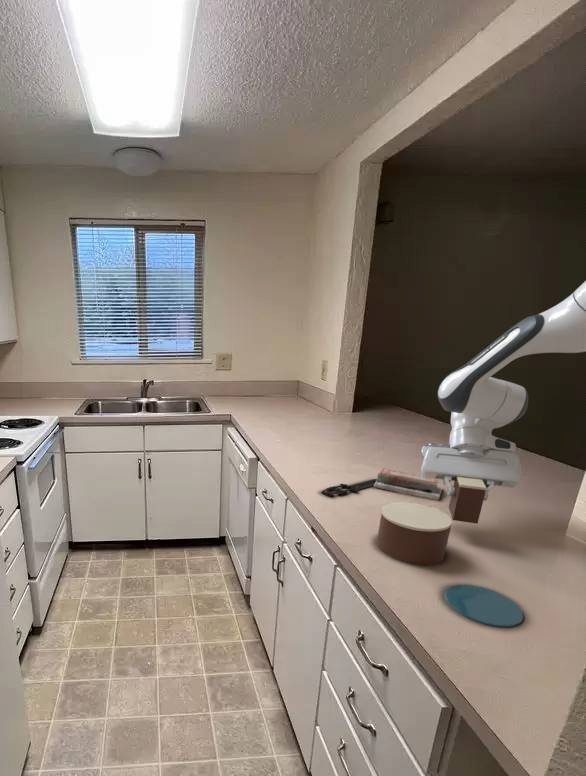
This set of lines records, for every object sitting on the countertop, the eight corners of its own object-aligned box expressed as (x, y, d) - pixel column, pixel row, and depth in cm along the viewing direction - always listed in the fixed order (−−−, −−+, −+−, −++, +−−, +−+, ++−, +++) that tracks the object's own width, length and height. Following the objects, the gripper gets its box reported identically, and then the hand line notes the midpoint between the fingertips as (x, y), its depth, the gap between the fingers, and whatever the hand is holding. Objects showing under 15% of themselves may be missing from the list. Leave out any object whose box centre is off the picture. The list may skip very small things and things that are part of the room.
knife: (378, 480, 142) (379, 476, 142) (394, 487, 137) (395, 483, 136) (316, 492, 134) (317, 487, 133) (330, 499, 128) (331, 495, 127)
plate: (512, 597, 83) (513, 593, 83) (530, 636, 73) (531, 632, 73) (441, 582, 88) (442, 579, 88) (448, 618, 78) (449, 614, 77)
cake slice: (472, 510, 107) (480, 476, 104) (477, 523, 100) (486, 487, 97) (448, 507, 109) (456, 473, 106) (452, 520, 102) (460, 484, 99)
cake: (440, 542, 104) (448, 507, 100) (447, 571, 92) (456, 534, 89) (376, 531, 109) (382, 498, 106) (375, 558, 97) (381, 522, 94)
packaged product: (375, 473, 133) (382, 464, 141) (373, 487, 135) (379, 478, 143) (442, 486, 124) (445, 476, 131) (438, 501, 126) (442, 491, 133)
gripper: (424, 436, 108) (420, 485, 103) (524, 444, 100) (524, 498, 95) (420, 448, 114) (415, 496, 109) (514, 457, 106) (514, 509, 101)
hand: (467, 497), depth 102 cm, fingers closed on cake slice, 5 cm apart
